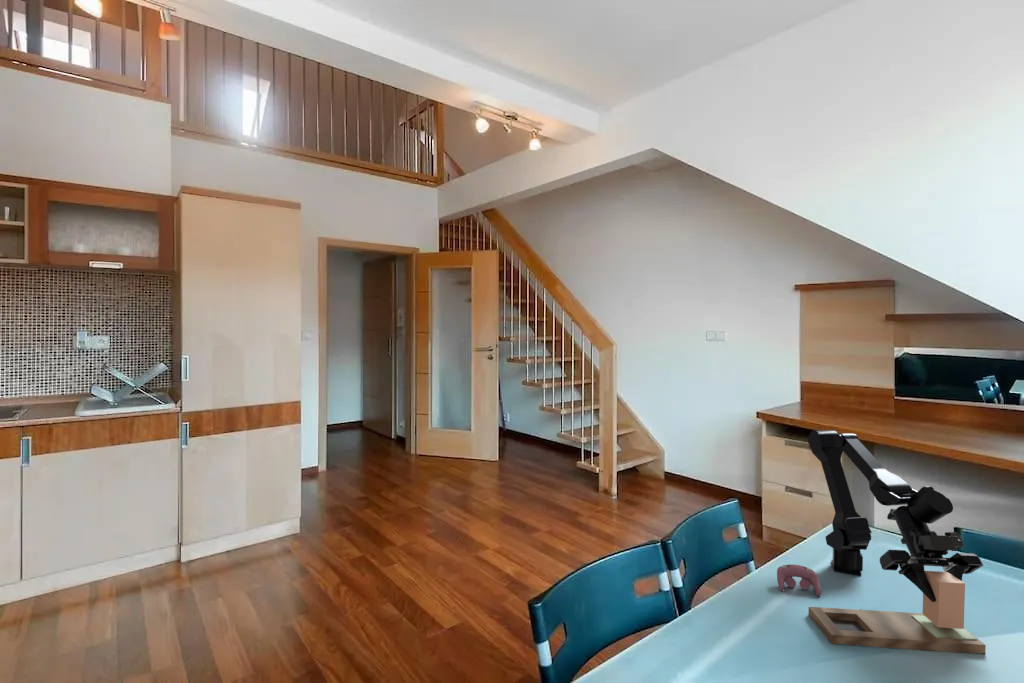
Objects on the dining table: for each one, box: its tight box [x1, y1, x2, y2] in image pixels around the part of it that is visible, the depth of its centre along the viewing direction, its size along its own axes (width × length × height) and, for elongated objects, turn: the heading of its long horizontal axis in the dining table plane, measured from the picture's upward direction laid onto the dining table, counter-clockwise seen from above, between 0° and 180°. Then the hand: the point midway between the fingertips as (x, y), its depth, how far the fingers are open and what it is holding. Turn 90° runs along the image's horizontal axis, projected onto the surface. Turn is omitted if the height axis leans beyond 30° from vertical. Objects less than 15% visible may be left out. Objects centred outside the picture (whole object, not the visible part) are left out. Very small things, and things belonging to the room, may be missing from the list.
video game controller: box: [776, 564, 822, 598], centre depth 132 cm, size 10×5×7 cm, turn 72°
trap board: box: [808, 606, 986, 654], centre depth 113 cm, size 30×11×2 cm, turn 83°
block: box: [922, 570, 966, 629], centre depth 111 cm, size 5×5×10 cm
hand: (947, 602), depth 110 cm, fingers closed on block, 5 cm apart
